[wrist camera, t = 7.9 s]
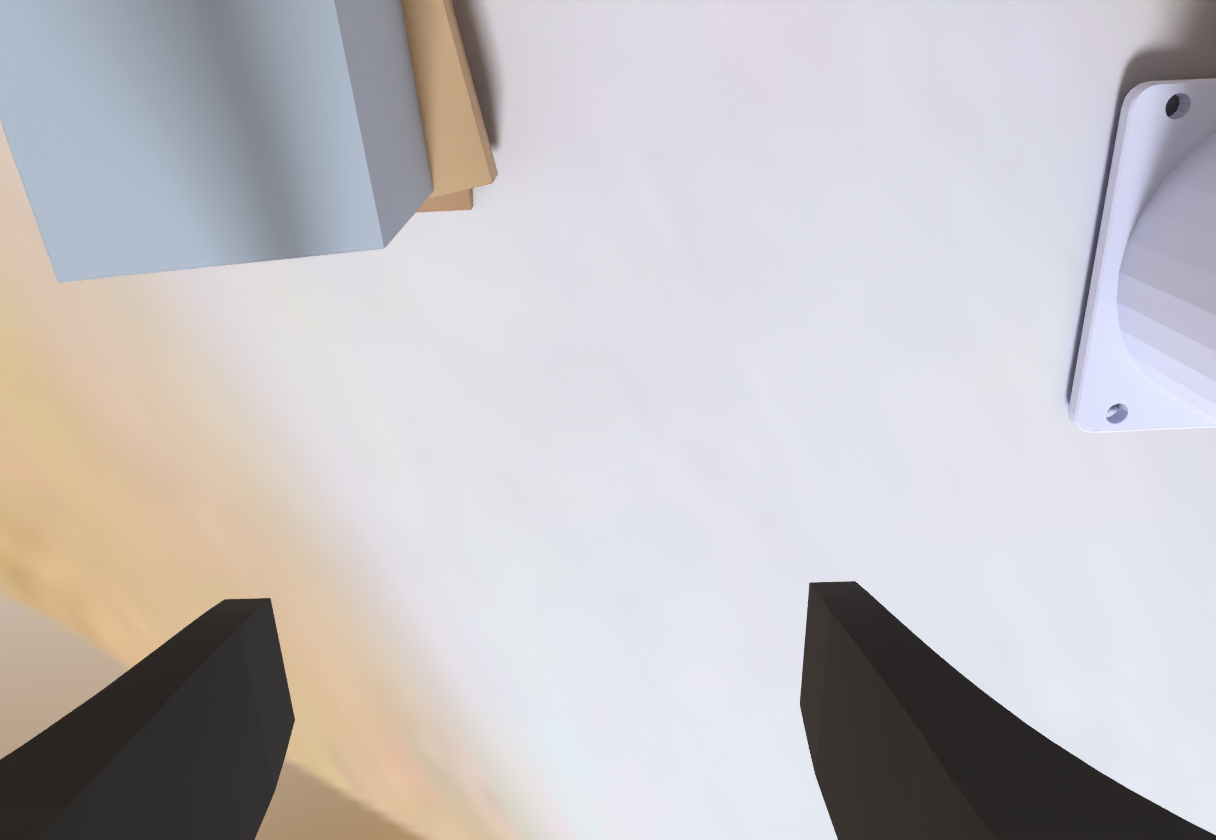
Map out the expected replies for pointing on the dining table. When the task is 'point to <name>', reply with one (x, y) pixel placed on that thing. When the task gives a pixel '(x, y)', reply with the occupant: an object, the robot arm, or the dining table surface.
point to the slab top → (447, 99)
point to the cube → (210, 129)
